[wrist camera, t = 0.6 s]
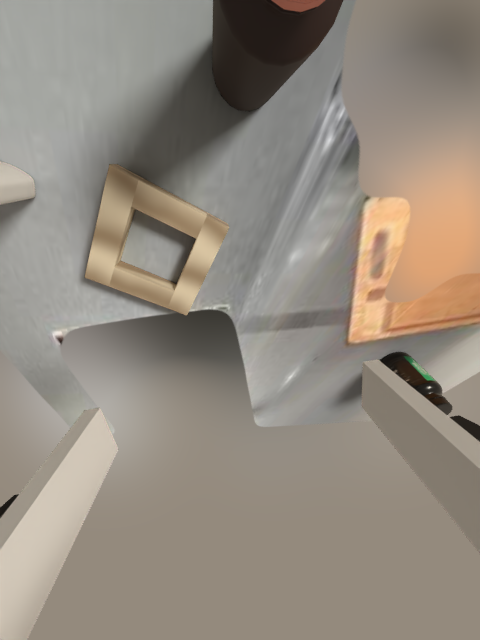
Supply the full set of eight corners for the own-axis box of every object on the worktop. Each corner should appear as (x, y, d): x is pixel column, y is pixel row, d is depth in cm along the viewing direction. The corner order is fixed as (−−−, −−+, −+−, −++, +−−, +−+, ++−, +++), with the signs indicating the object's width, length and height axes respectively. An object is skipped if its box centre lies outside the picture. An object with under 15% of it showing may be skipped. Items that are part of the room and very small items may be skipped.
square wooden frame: (117, 164, 27) (109, 164, 25) (227, 223, 32) (229, 228, 30) (92, 270, 33) (84, 277, 31) (188, 307, 38) (186, 315, 36)
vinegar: (288, 31, 23) (496, -317, 6) (268, 120, 26) (367, 49, 10) (218, 2, 22) (244, -541, 5) (207, 100, 25) (199, -22, 8)
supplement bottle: (401, 345, 48) (452, 393, 38) (414, 362, 51) (464, 411, 41) (371, 364, 50) (411, 415, 40) (384, 379, 53) (425, 430, 43)
